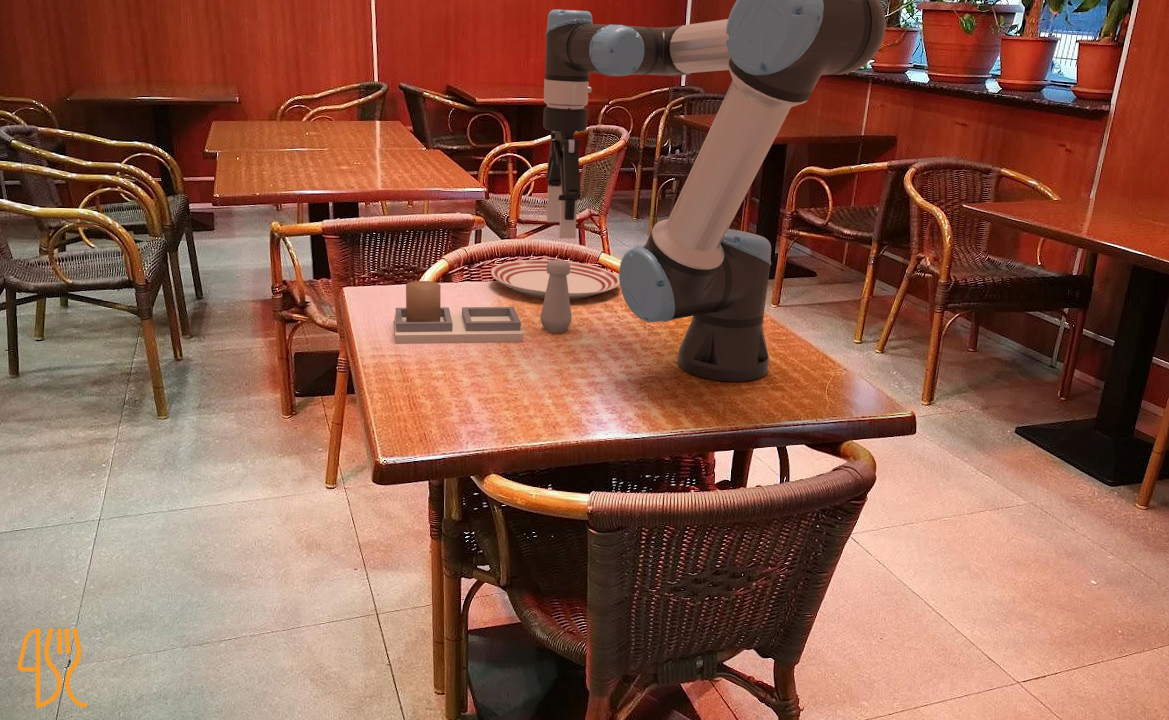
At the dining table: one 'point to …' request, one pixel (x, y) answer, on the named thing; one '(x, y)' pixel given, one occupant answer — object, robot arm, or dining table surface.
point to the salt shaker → (556, 298)
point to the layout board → (451, 320)
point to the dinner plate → (534, 275)
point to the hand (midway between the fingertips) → (560, 229)
